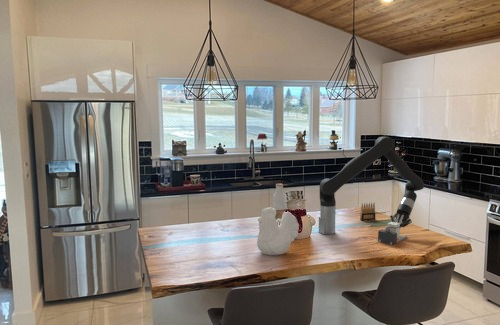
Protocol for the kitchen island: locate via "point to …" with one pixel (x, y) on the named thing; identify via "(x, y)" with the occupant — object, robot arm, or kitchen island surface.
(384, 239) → the grey boxy device
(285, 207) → the white bottle
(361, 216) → the ammunition clip
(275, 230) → the decorative rooster
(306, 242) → the kitchen island surface
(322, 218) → the robot arm
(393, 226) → the grooved white block
